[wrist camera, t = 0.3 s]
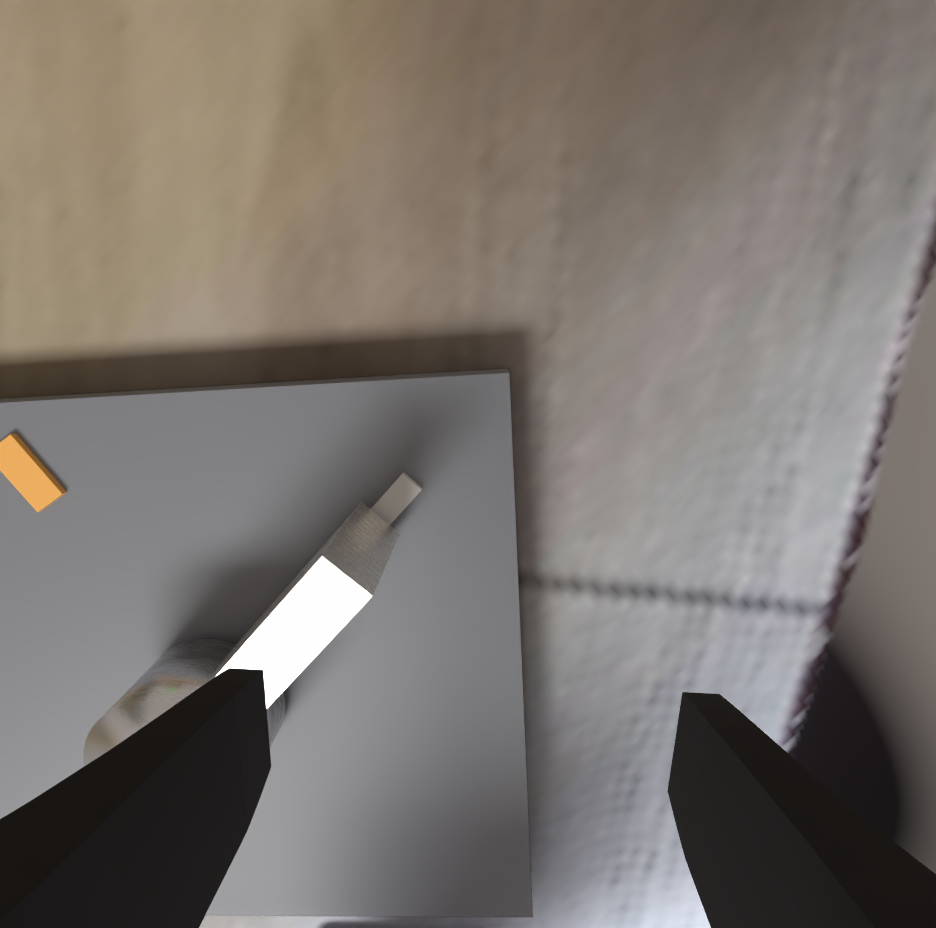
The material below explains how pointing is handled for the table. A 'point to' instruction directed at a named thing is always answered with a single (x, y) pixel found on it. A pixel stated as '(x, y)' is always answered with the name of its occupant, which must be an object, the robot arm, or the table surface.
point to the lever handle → (264, 634)
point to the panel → (256, 587)
